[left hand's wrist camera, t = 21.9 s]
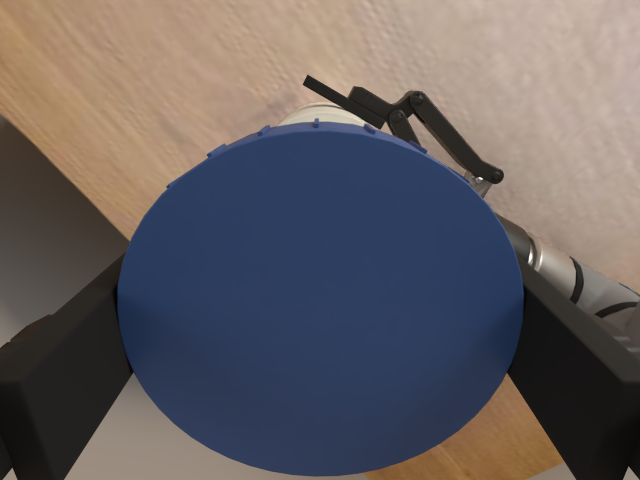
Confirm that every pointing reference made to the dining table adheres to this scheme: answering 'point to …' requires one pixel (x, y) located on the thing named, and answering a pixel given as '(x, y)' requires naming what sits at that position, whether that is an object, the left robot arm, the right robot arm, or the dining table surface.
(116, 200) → the dining table surface
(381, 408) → the lid
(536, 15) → the dining table surface
